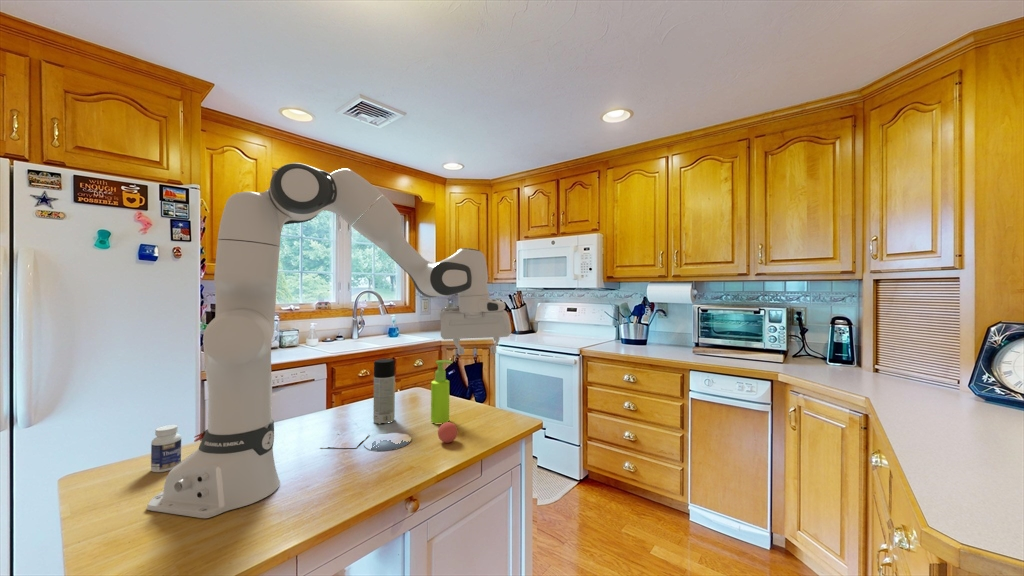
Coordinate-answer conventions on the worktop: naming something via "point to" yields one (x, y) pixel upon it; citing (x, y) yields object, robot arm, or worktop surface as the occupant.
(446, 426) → the ball
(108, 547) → the worktop surface
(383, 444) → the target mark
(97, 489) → the worktop surface
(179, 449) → the pill bottle
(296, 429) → the worktop surface
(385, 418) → the spray can
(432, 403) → the soap dispenser
